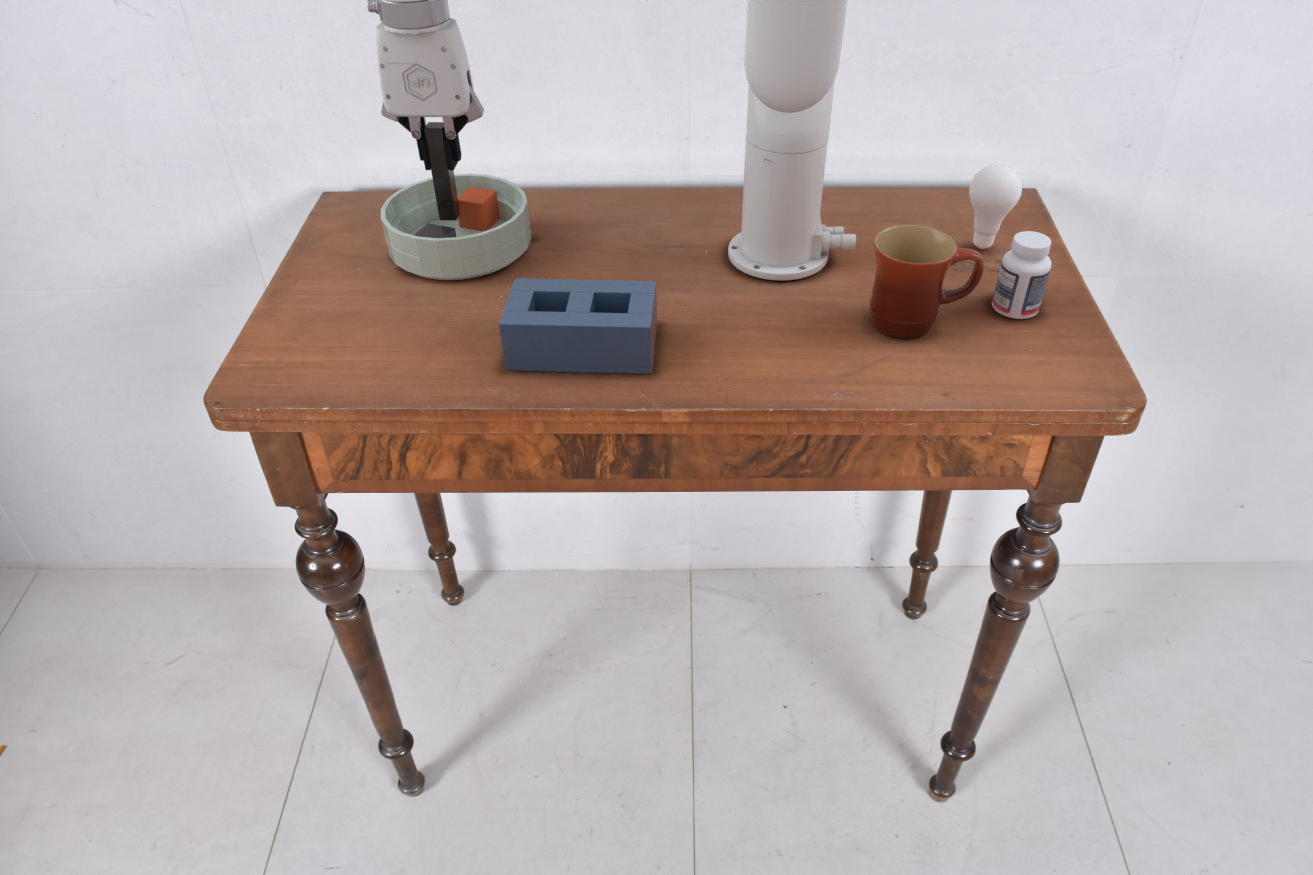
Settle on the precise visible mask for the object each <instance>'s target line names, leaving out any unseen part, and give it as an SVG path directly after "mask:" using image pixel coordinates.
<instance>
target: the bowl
mask: <svg viewBox="0 0 1313 875" xmlns="http://www.w3.org/2000/svg"><path fill="white" fill-rule="evenodd" d="M454 177H455V183H456V190H457V196H458V197H459V196H460V195H461V194H462V193H463V192H465V191H466V190H467V189H468V188H469V187H474V188H480V189H487V190H493V191H496V192H497V199H498V206H499V213H500V219H499V220H498V221H497V222H496V223H495V224H494V225H493V226H492V227H491V228H490V229H489V230H487V231H478V230H472V229H466V228H460V225H459V220H458V218H457V220H456V221H449V220H440V219H439V213H438V207H437V202H436V196H435V190H434V184H433V178H432V177H430V178H426V179H423V180H419V181H416V182H412V183H410V184H408V185H407V186H405V187H403V188H401V189H399V190H397V191H395V192H394V193H393V194H392V195H390V196H389V197H388V198H386V200H385V201H384V203H383V205H382V206H381V208H380V221H381V226H382V231H383V235H384V238H385V243H386V248H387V252H388V256H389V257H390V259H391V260H392V262H393V263H394V265H396V266H398V267H399V268H401V270H404V271H406V272H408V273H410V274H414V275H416V276H419V277H421V278H426V279H430V280H439V281H460V280H467V279H474V278H480V277H483V276H486V275H490V274H492V273H495V272H497V271H500V270H502V269H505V268H506V267H509V265H511V264H512V263H513V262H515V261H516V260H517V259H520V257H521V256H522V255H523V254H524V253H525V252H526V251H527V250H528V249H529V246H530V243H531V240H532V230H531V221H530V212H529V206H528V204H529V203H528V198H527V194H526V192H525V191H524V190H523V189H522V188H521V187H520V186H519V185H518V184H516V183H514V182H512V181H510V180H508V179H506V178H502V177H500V176H499V177H498V176H494V175H490V174H480V173H454ZM427 223H430V224H435V225H441V226H446V227H452V228H455V230H456V236H457V237H451V238H429V237H418V236H415V235H414V234H415V233H416V232H418V231H419V230H420V229H421V228H423V227H424V226H425V225H426V224H427Z"/></svg>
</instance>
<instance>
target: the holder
mask: <svg viewBox="0 0 1313 875" xmlns="http://www.w3.org/2000/svg"><path fill="white" fill-rule="evenodd" d="M657 298H658V295H657V281H656V280H623V279H620V280H619V279H573V278H572V279H571V278H570V279H569V278H568V279H567V278H563V279H562V278H519V277H518V278H517V277H516V278H514V280H513V283H512V286H511V288H510V291H509V294H508V296H507V300H506V302H505V306H504V308H503V311H502V314H501V317H500V320H499V323H498V327H499V334H500V341H501V348H502V353H503V354H502V355H503V359H504V366H505V371H510V372H512V371H514V372H516V371H517V372H550V373H551V372H554V373H559V372H560V373H594V374H595V373H597V374H630V375H631V374H632V375H634V374H635V375H636V374H638V375H652V374H653V373H652V372H653V368H654V367H653V366H654V357H655V347H656V341H657V340H656V338H657V330H658V304H657V303H658V299H657Z"/></svg>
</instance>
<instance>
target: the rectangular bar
mask: <svg viewBox="0 0 1313 875" xmlns="http://www.w3.org/2000/svg"><path fill="white" fill-rule="evenodd" d="M424 131H425V137H426V140H427V146H428V152H429V158H430V164H431V170H430V172H431V178H433V184H434V190H435V196H436V202H437V207H438V213H439V219H440V220H449V221H456V220H457V218H458V216H459V215H460V209H459V203H458V196H457V190H456V183H455V177H454V174H455V172H454V170H455V169H454V170H449V169H447V164H446V158H445V152H444V147H443V140H444V139H445V128H444V123H443V121H428V122H427V123H426V126H425V128H424Z"/></svg>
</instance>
